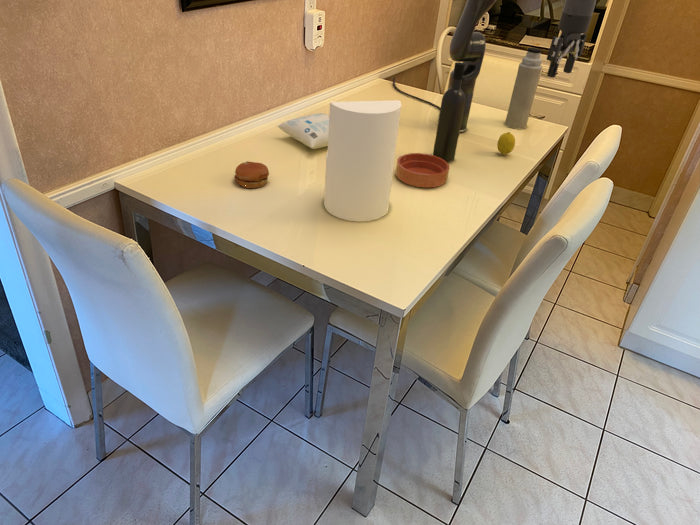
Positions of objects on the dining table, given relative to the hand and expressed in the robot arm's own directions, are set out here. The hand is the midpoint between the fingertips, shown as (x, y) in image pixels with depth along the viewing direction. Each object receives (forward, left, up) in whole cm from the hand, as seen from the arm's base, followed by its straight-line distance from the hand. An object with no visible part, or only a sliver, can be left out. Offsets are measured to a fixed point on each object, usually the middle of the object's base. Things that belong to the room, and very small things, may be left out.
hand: (559, 74), depth 147 cm
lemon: (-15, +3, -31) cm, 34 cm away
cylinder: (-5, -61, -31) cm, 69 cm away
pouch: (-48, -50, -31) cm, 76 cm away
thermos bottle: (-35, +29, -31) cm, 55 cm away
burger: (-29, -81, -31) cm, 91 cm away
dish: (-12, -34, -31) cm, 47 cm away
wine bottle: (-20, -19, -31) cm, 41 cm away
